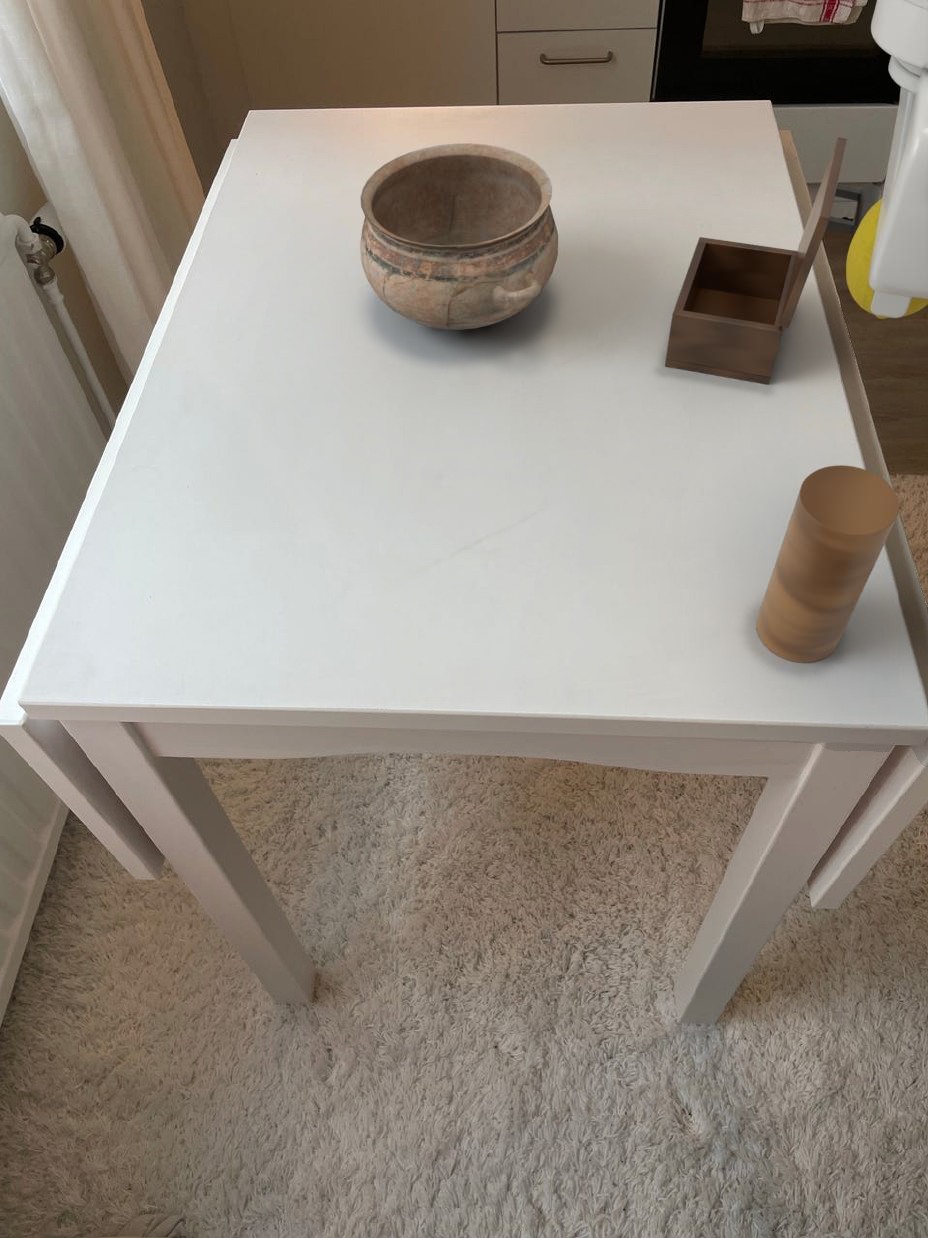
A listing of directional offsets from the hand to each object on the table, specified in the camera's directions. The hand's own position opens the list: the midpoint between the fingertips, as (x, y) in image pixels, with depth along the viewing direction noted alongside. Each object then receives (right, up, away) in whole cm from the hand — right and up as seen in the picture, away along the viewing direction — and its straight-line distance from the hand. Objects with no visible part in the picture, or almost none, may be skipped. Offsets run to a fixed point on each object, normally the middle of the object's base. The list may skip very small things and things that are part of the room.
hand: (892, 272), depth 53 cm
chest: (+2, +8, +39) cm, 40 cm away
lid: (+6, +14, +29) cm, 32 cm away
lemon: (0, -2, +2) cm, 3 cm away
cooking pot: (-24, +12, +44) cm, 51 cm away
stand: (+1, -20, +18) cm, 27 cm away
